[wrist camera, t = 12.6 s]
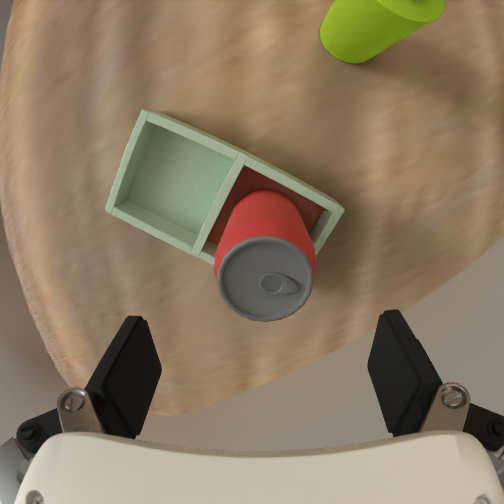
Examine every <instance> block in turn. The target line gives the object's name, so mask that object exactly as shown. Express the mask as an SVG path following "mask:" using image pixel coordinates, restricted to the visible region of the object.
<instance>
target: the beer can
mask: <svg viewBox="0 0 504 504" xmlns="http://www.w3.org/2000/svg"><path fill="white" fill-rule="evenodd" d="M316 266H317V263H316V255H315V249H314V247H313V244H312V242H311V239H310V237H309V234H308V232H307V229H306V227H305V224H304V222H303V220H302V217H301V215H300V213H299V211H298V209H297V207H296V205H295V203H294V202H293V201H292V200H291V199H290V198H289V197H288V196H287V195H285V194H283V193H281V192H279V191H277V190H271V189H260V190H255V191H252V192H250V193H248V194H246V195H244V196H243V197H242V198H241V199H240V200H239V201H238V202H237V203H236V204H235V207H234V209H233V211H232V213H231V216H230V218H229V220H228V223H227V225H226V228H225V230H224V232H223V235H222V237H221V240H220V242H219V245H218V247H217V250H216V252H215V264H214V269H215V274H216V278H217V285H218V288H219V292H220V295H221V297H222V298H223V300H224V301H225V303H226V304H227V305H228V307H229V308H231V309H232V310H233V311H235V312H236V313H237V314H239V315H240V316H243V317H245V318H248V319H251V320H255V321H264V322H268V321H275V320H281V319H283V318H285V317H287V316H290V315H292V314H294V313H295V312H296V311H297V310H299V309H300V308H301V307H302V306H303V305H304V304H305V302H306V301H307V299H308V297H309V296H310V294H311V291H312V286H313V282H314V277H315V272H316Z"/></svg>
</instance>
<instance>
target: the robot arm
mask: <svg viewBox="0 0 504 504" xmlns="http://www.w3.org/2000/svg"><path fill="white" fill-rule="evenodd" d="M368 371H369V374H370V377H371V380H372V383H373V385H374V389H375V392H376V395H377V398H378V401H379V404H380V407H381V411H382V414H383V417H384V420H385V423H386V426H387V430H388V432H389V433H392V434H393V437H392V438H388V439H382V440H377V441H371V442H365V443H358V444H352V445H344V446H338V447H328V448H318V449H306V450H289V451H228V450H211V449H199V448H188V447H180V446H172V445H165V444H159V443H152V442H146V441H140V440H135V438H136V435H140V433H141V430H142V427H143V424H144V421H145V418H146V415H147V413H148V410H149V407H150V404H151V401H152V398H153V395H154V392H155V390H156V387H157V384H158V381H159V378H160V376H161V372H162V367H161V363H160V361H159V358H158V355H157V352H156V349H155V345H154V342H153V339H152V336H151V333H150V329H149V326H148V323H147V321H146V320H144V319H143V318H142V317H141V316H128V317H127V318H126V319H125V321H124V323H123V324H122V326H121V327H120V329H119V331H118V332H117V334H116V336H115V337H114V339H113V341H112V342H111V344H110V346H109V347H108V349H107V350H106V352H105V354H104V356H103V357H102V359H101V361H100V362H99V364H98V366H97V368H96V369H95V371H94V373H93V375H92V376H91V378H90V380H89V382H88V384H87V385H86V387H85V389H81V388H70V389H68V390H66V391H64V392H63V393H62V394H61V395H60V397H59V398H58V401H57V408H56V409H54V410H51V411H49V412H47V413H44V414H42V415H40V416H37V417H35V418H32V419H30V420H27V421H25V422H24V423H22V424H21V425H20V426H19V428H18V430H17V434H16V435H17V438H16V439H14V438H13V437H12V438H11V439H9V440H8V441H6V442H5V443H4V444H3V445H1V446H0V503H1V504H504V416H502V415H499V414H497V413H494V412H491V411H489V410H487V409H484V408H482V407H479V406H477V405H474V404H472V403H470V395H469V392H468V391H467V389H466V388H465V387H463V386H462V385H460V384H458V383H454V382H451V383H445V384H443V383H442V381H441V379H440V377H439V375H438V373H437V372H436V370H435V368H434V366H433V364H432V362H431V361H430V359H429V357H428V355H427V354H426V352H425V350H424V348H423V347H422V345H421V343H420V342H419V340H418V339H416V338H415V336H414V334H413V332H412V331H411V329H410V327H409V326H408V324H407V322H406V321H405V319H404V318H403V316H402V314H401V313H400V311H399V310H397V309H396V310H386V311H384V313H383V314H381V315H380V316H379V320H378V324H377V328H376V333H375V337H374V341H373V345H372V349H371V352H370V356H369V359H368Z"/></svg>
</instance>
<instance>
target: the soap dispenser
mask: <svg viewBox="0 0 504 504" xmlns="http://www.w3.org/2000/svg"><path fill="white" fill-rule="evenodd" d="M444 7H445V1H444V0H334V2H333V4H332V5H331V7H330V9H329V11H328V13H327V14H326V16H325V18H324V20H323V22H322V24H321V26H320V31H319V34H320V39H321V42H322V44H323V46H324V47H325V49H326V50H327V51H328V52H329V53H330V54H331V55H332V56H334V57H335V58H337V59H339V60H341V61H343V62H347V63H353V64H357V63H363V62H366V61H368V60H369V59H371V58H372V57H374V56H375V55H377V54H379V53H380V52H382V51H383V50H385V49H387V48H388V47H390V46H391V45H393V44H395V43H396V42H398V41H400V40H401V39H403V38H405V37H406V36H408V35H410V34H411V33H413V32H415V31H417V30H418V29H420V28H422V27H424V26H425V25H427V24H429V23H431V22H433V21H435V20H436V19H438V18H439V17H440V16H441V15H442V13H443V11H444Z"/></svg>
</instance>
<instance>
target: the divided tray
mask: <svg viewBox="0 0 504 504" xmlns="http://www.w3.org/2000/svg"><path fill="white" fill-rule="evenodd" d="M260 189H271V190H277V191H279V192H281V193H283V194H285V195H287V196H288V197H289V198H290V199H291V200H292V201H293V202H294V203H295V205H296V207H297V209H298V211H299V213H300V215H301V217H302V220H303V222H304V224H305V227H306V229H307V232H308V234H309V237H310V239H311V242H312V244H313V247H314V249H315V255H317V254H318V252H319V251H320V249H321V248H322V246H323V244H324V243H325V241H326V240H327V238H328V237H329V235H330V233H331V232H332V230H333V229H334V227H335V225H336V224H337V222H338V220H339V219H340V217H341V216H342V214H343V212H344V211H345V209H344V208H343V207H342V206H341V205H340V204H339V203H338V202H337V201H336V200H335V199H333V198H331V197H330V196H328V195H326V194H324V193H323V192H321V191H319V190H318V189H316V188H314V187H312V186H310V185H309V184H307V183H305V182H303V181H302V180H300V179H298V178H296V177H294V176H292V175H291V174H289V173H287V172H285V171H283V170H281V169H279V168H278V167H276V166H274V165H272V164H270V163H268V162H266V161H264V160H262V159H260V158H258V157H256V156H254V155H252V154H250V153H248V152H246V151H244V150H242V149H240V148H238V147H236V146H234V145H232V144H230V143H228V142H226V141H224V140H222V139H220V138H217V137H215V136H213V135H211V134H209V133H207V132H204V131H202V130H200V129H198V128H195V127H193V126H191V125H189V124H186V123H184V122H182V121H179V120H177V119H175V118H172V117H170V116H168V115H165V114H163V113H160V112H158V111H151V110H145V109H142V111H141V114H140V116H139V118H138V120H137V123H136V125H135V127H134V130H133V132H132V135H131V137H130V140H129V142H128V145H127V147H126V150H125V153H124V155H123V158H122V161H121V163H120V166H119V169H118V172H117V175H116V178H115V181H114V184H113V187H112V190H111V193H110V196H109V199H108V202H107V206H106V209H105V211H106V212H108V213H110V214H112V215H114V216H116V217H118V218H120V219H122V220H124V221H126V222H128V223H130V224H131V225H133V226H135V227H137V228H139V229H141V230H143V231H145V232H147V233H149V234H151V235H153V236H155V237H157V238H159V239H161V240H163V241H165V242H167V243H169V244H171V245H173V246H175V247H177V248H179V249H181V250H183V251H185V252H187V253H189V254H191V255H193V256H195V257H197V258H200V259H202V260H204V261H206V262H208V263H210V264H212V265H214V264H215V252H216V250H217V247H218V245H219V242H220V240H221V237H222V235H223V232H224V230H225V228H226V225H227V223H228V220H229V218H230V216H231V213H232V211H233V209H234V207H235V204H236V203H237V202H238V201H239V200H240V199H241V198H242V197H243V196H244V195H246V194H248V193H250V192H252V191H255V190H260Z"/></svg>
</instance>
